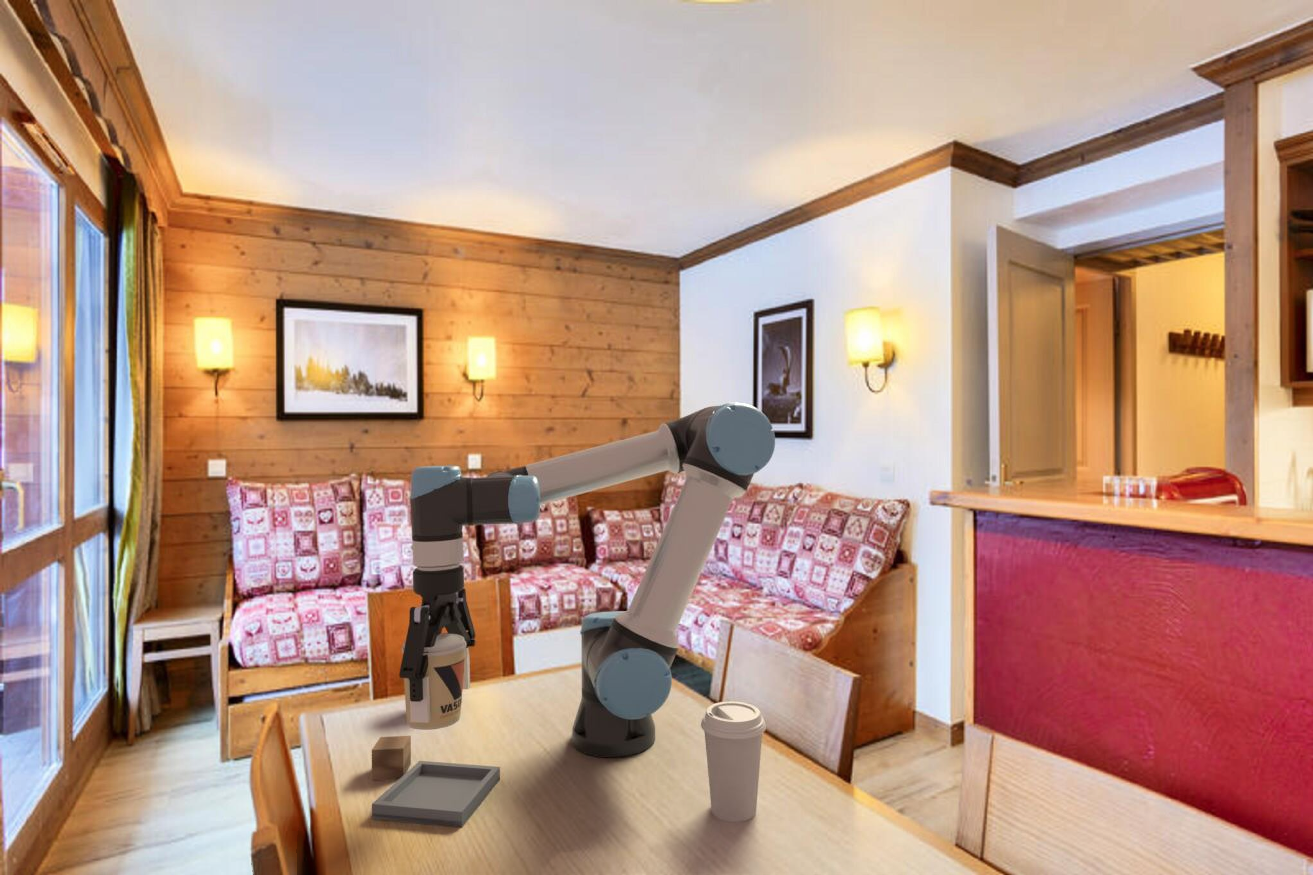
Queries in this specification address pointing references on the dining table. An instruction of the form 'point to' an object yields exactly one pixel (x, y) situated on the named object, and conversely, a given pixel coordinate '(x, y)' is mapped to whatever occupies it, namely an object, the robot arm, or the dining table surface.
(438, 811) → the tray
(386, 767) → the walnut cube
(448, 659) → the coffee cup
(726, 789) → the coffee cup
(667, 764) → the dining table surface
